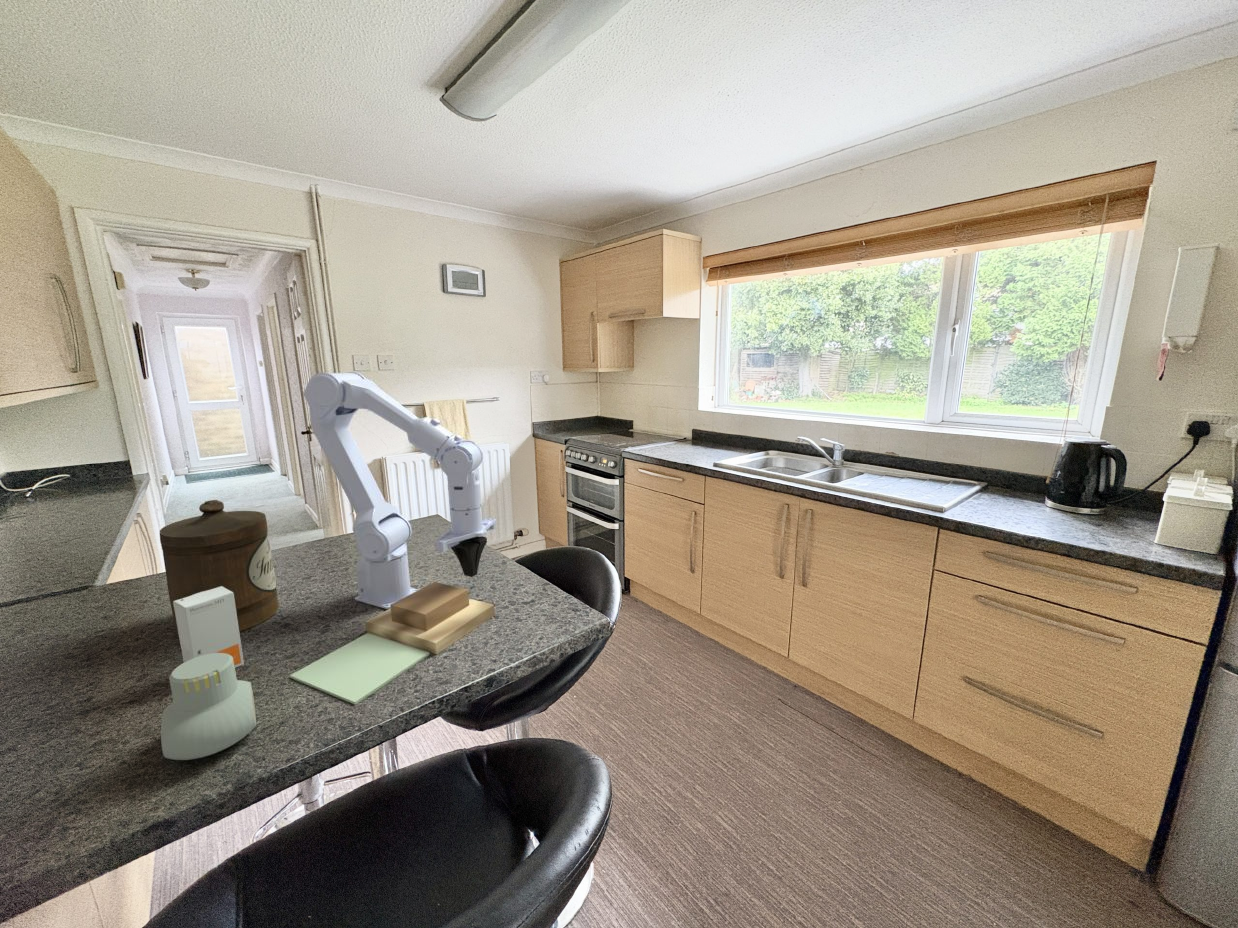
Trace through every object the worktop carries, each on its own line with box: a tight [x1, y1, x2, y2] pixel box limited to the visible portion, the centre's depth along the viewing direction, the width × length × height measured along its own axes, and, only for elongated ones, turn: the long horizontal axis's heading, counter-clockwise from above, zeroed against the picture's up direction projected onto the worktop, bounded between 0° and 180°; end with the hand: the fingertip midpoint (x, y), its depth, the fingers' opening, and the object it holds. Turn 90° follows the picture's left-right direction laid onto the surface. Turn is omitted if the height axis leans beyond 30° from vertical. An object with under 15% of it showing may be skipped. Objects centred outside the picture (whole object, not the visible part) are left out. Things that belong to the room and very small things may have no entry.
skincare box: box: [173, 586, 245, 669], centre depth 74 cm, size 6×4×12 cm
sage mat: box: [289, 632, 431, 706], centre depth 75 cm, size 14×13×1 cm
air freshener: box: [160, 653, 257, 761], centre depth 60 cm, size 11×8×10 cm
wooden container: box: [159, 499, 280, 636], centre depth 88 cm, size 15×15×22 cm
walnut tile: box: [390, 581, 470, 631], centre depth 87 cm, size 8×10×3 cm
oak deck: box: [365, 598, 496, 656], centre depth 88 cm, size 16×14×2 cm
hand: (470, 574), depth 96 cm, fingers closed
